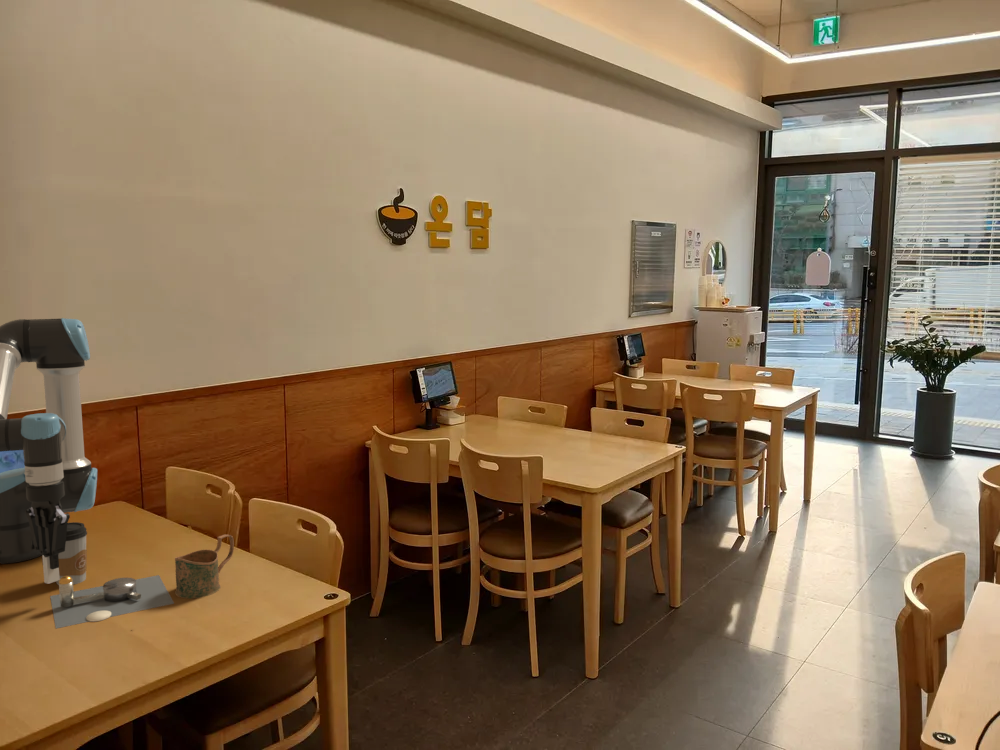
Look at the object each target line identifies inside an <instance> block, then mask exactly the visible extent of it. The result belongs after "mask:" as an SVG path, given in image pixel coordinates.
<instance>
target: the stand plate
mask: <svg viewBox="0 0 1000 750" xmlns="http://www.w3.org/2000/svg"><path fill="white" fill-rule="evenodd" d="M135 580H136V591H137V593H138V594H141V598H140V599H138V600H134V599H131V598H130V599H127V600H123V601H117V602H110V601H106V600H104V598H103V599H98V600H93V601H88V602H83V603H78V604H73V605H72V606H68V607H61V606H60V593H59V594H53V595H50V596H49V597H50V602H51V608H52V613H53V619H54V627H55V629H61V628H65V627H70V626H75V625H79V624H86V623H88V622H94V623H95V622H101V621H104V620H107V619H109V618H114V617H117V616H122V615H126V614H131V613H136V612H140V611H141V612H142V611H145V610H151V609H154V608H160V607H165V606H169V605H173V604H175V602H174V600H173V598H172V597H171V595H170V593H169V590H167V587H166V586H165V584H164V582H163V580H162V578H161V576H160V574H157V575H153V576H147V577H141V578H137V579H135ZM73 591H74V598H75V597H80V596H86V595H91V594H96V593H101V592H103V585H101V586H95V587H89V588H84V589H78V590H73Z"/></svg>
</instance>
